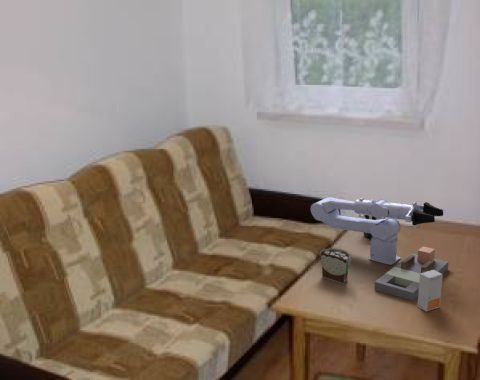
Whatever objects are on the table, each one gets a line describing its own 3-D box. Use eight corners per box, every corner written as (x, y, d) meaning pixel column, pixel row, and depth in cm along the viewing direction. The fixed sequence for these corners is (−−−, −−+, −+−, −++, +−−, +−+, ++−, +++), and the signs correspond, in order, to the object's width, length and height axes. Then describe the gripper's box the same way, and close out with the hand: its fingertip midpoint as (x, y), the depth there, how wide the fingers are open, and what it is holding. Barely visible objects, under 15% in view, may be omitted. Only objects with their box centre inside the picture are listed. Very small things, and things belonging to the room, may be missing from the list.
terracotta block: (417, 261, 231) (417, 250, 230) (422, 257, 234) (423, 246, 233) (429, 264, 228) (429, 253, 227) (434, 260, 232) (434, 249, 230)
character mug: (356, 237, 262) (357, 208, 258) (359, 231, 269) (360, 202, 265) (383, 240, 259) (384, 210, 255) (385, 234, 265) (386, 205, 261)
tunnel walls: (400, 268, 226) (401, 261, 225) (410, 260, 232) (410, 254, 231) (424, 274, 221) (425, 268, 220) (434, 266, 226) (434, 260, 226)
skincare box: (426, 312, 201) (428, 278, 198) (417, 306, 205) (419, 273, 201) (440, 307, 204) (443, 274, 200) (431, 302, 208) (433, 269, 204)
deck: (374, 289, 217) (374, 281, 216) (411, 260, 239) (412, 253, 239) (412, 300, 209) (413, 292, 208) (447, 269, 231) (448, 261, 230)
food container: (357, 279, 225) (358, 253, 222) (347, 285, 221) (348, 259, 218) (328, 270, 233) (329, 245, 230) (319, 275, 229) (319, 250, 226)
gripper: (393, 206, 225) (429, 210, 216) (410, 196, 235) (446, 199, 227) (393, 225, 226) (430, 230, 218) (411, 214, 237) (446, 218, 229)
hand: (438, 215), depth 222 cm, fingers open, 7 cm apart
